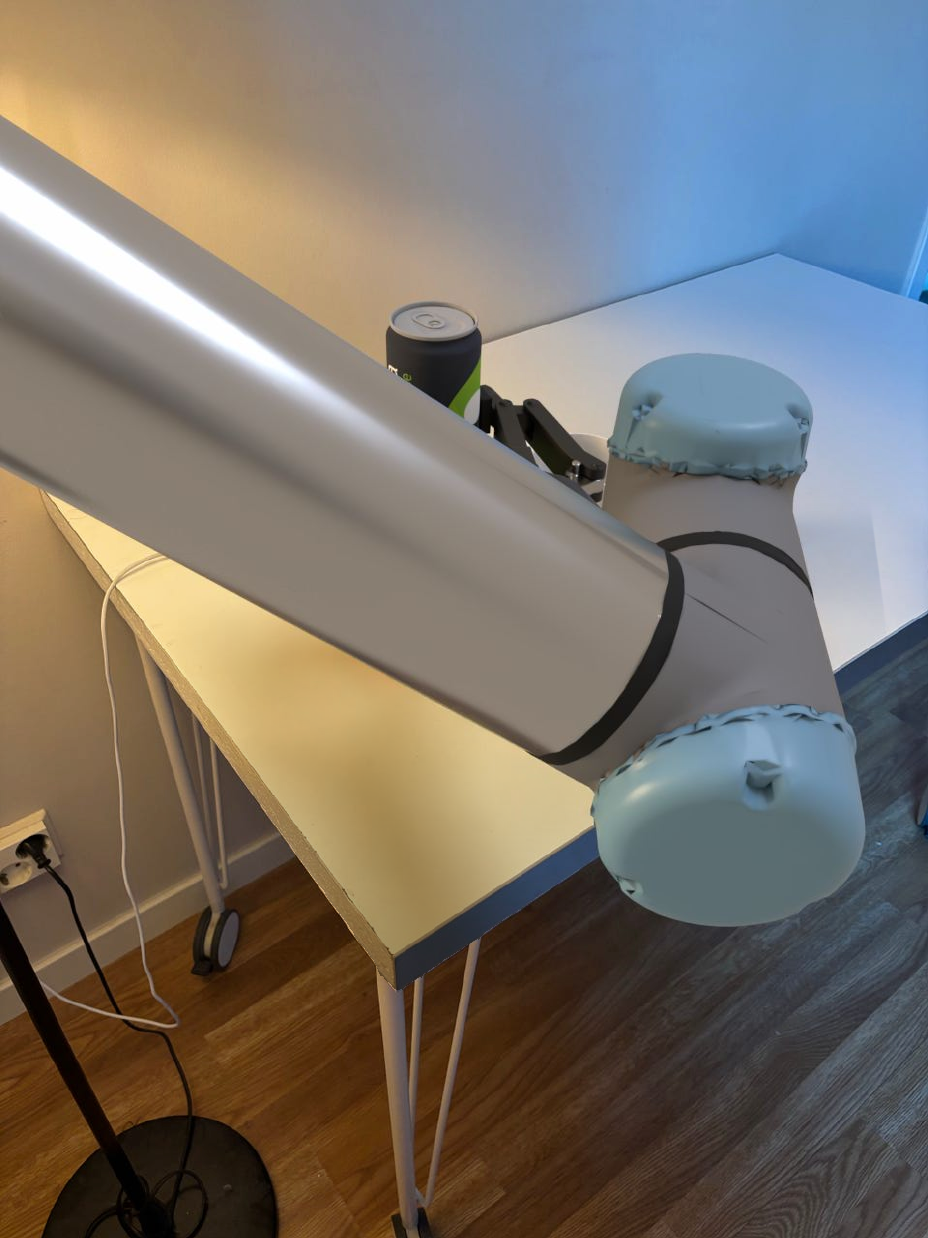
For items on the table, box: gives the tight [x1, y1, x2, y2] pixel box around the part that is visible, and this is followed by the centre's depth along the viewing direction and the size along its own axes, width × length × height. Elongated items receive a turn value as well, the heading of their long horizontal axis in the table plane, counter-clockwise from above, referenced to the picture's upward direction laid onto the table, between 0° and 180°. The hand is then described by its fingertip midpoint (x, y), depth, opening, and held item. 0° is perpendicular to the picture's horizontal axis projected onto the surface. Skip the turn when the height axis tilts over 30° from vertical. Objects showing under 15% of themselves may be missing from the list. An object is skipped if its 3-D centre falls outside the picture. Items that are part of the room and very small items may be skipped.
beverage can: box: [385, 300, 483, 428], centre depth 66 cm, size 6×6×15 cm
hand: (407, 383), depth 69 cm, fingers closed on beverage can, 6 cm apart
